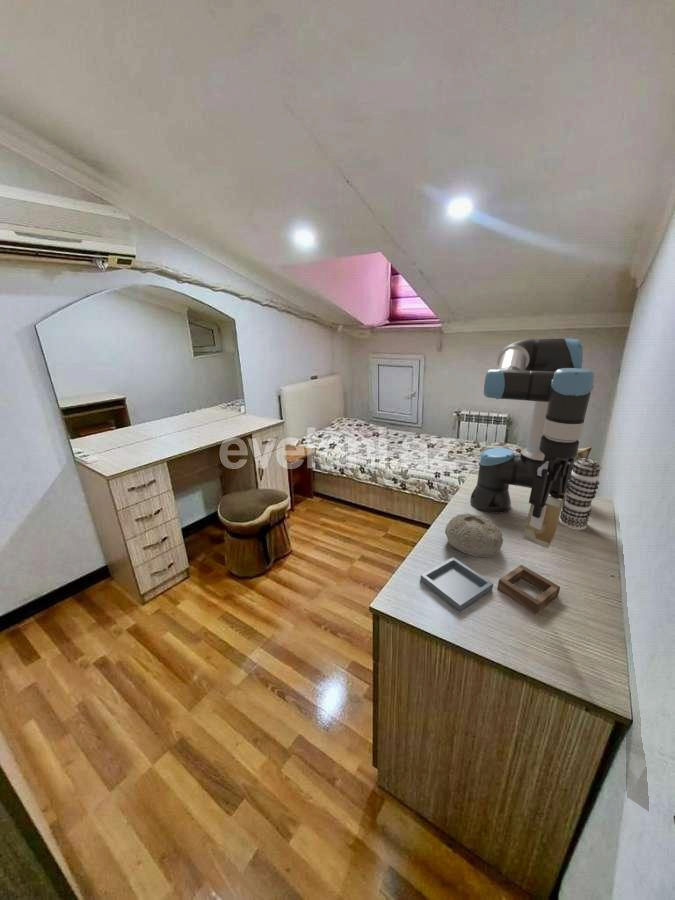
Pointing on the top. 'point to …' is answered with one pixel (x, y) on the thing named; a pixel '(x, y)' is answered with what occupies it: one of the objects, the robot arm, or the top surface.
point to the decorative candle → (580, 493)
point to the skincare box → (544, 524)
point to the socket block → (524, 598)
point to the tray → (456, 584)
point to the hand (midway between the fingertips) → (541, 523)
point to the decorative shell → (474, 535)
